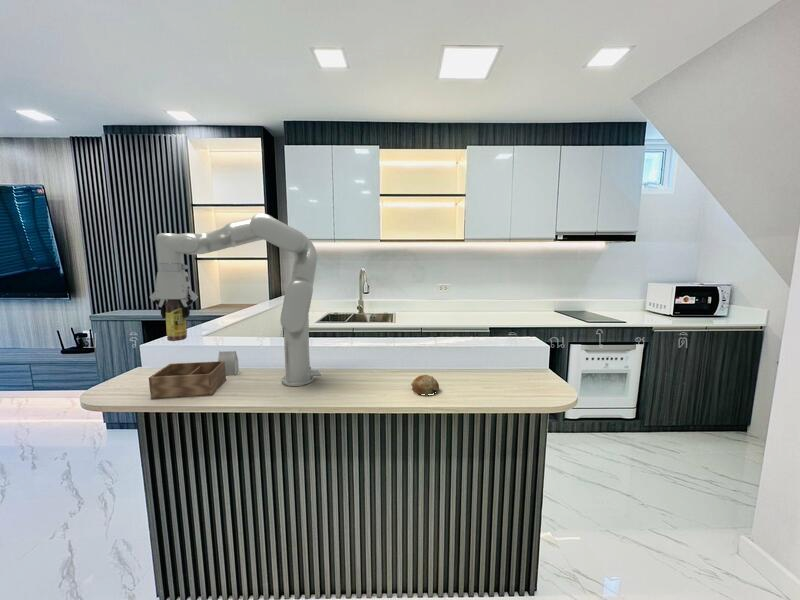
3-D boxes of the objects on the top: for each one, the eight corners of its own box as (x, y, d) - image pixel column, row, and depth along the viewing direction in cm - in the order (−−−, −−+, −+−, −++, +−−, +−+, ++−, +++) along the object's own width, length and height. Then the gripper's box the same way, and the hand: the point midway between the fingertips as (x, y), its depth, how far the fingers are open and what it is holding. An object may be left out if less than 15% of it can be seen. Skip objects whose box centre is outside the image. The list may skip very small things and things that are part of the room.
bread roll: (422, 407, 122) (430, 391, 118) (404, 388, 127) (411, 372, 124) (438, 398, 129) (446, 383, 126) (420, 381, 134) (427, 366, 131)
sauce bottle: (177, 342, 120) (172, 287, 117) (162, 341, 121) (157, 286, 118) (192, 337, 126) (187, 285, 123) (178, 336, 127) (173, 285, 125)
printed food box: (235, 375, 141) (233, 352, 139) (218, 375, 140) (217, 352, 139) (238, 372, 145) (237, 350, 143) (222, 372, 144) (221, 350, 143)
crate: (226, 380, 136) (224, 361, 135) (212, 395, 121) (210, 374, 120) (172, 382, 132) (170, 363, 131) (150, 399, 118) (148, 377, 117)
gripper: (202, 267, 125) (205, 315, 128) (151, 267, 122) (155, 315, 125) (193, 269, 118) (197, 319, 120) (138, 268, 115) (143, 319, 117)
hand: (175, 316), depth 122 cm, fingers closed on sauce bottle, 6 cm apart
